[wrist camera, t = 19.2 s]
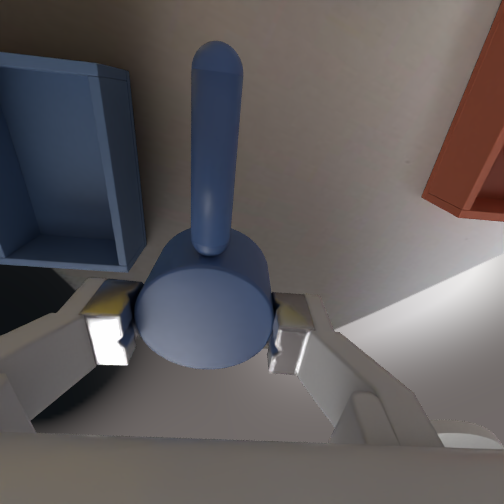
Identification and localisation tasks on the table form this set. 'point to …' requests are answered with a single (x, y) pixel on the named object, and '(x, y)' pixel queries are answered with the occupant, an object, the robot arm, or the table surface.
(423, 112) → the table surface
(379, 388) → the robot arm
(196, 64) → the blue scoop
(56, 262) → the blue bin
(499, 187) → the terracotta bin
